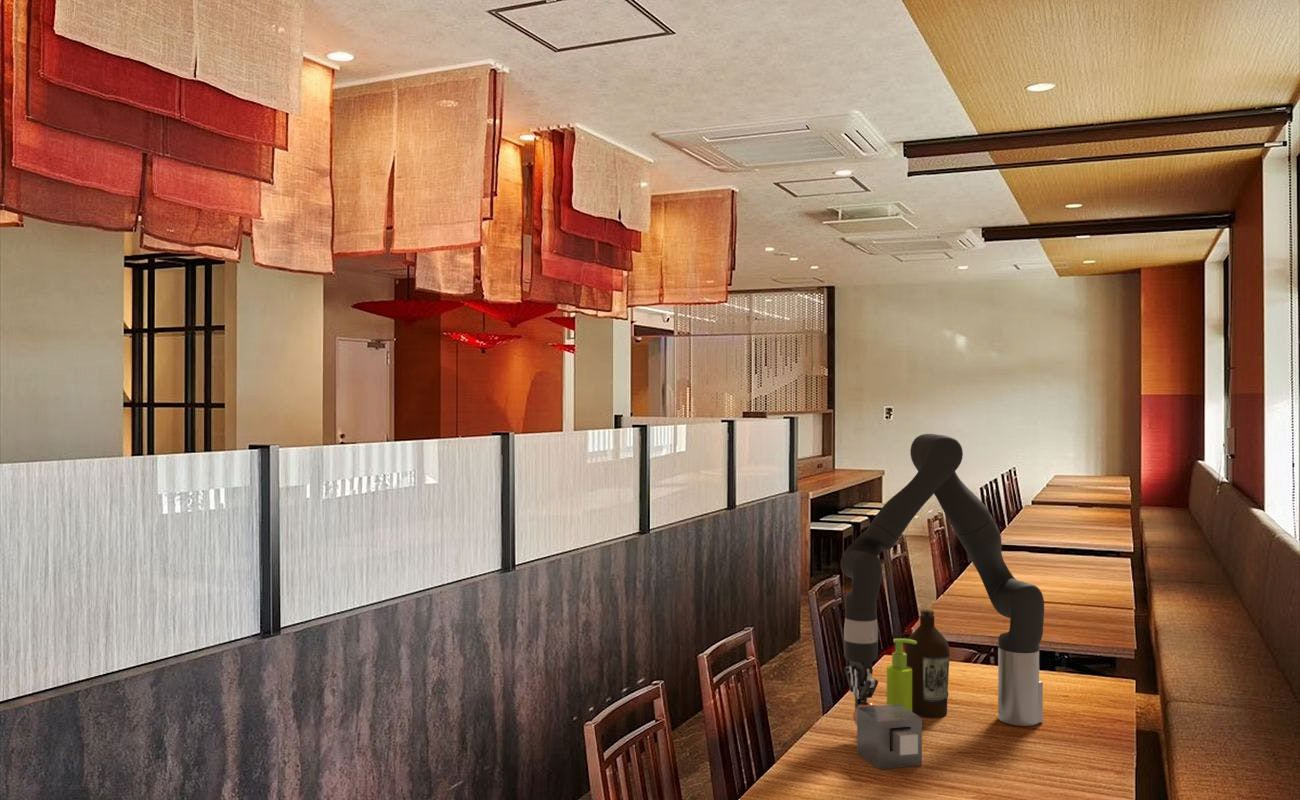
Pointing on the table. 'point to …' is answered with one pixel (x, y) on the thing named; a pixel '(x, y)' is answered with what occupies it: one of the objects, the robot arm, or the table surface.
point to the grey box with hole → (886, 735)
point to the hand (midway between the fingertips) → (860, 714)
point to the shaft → (898, 736)
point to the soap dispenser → (900, 677)
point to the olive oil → (928, 668)
